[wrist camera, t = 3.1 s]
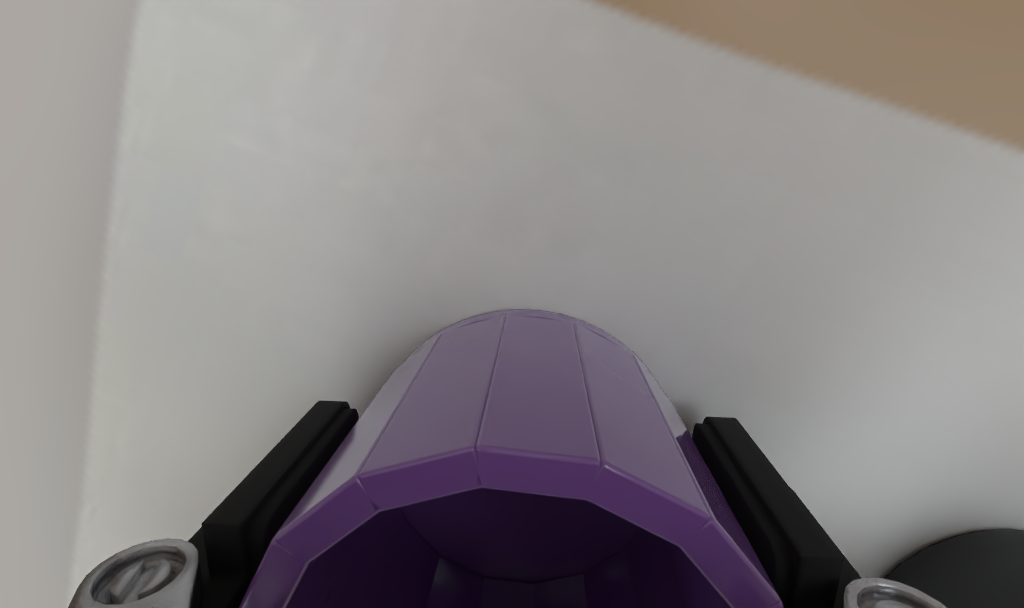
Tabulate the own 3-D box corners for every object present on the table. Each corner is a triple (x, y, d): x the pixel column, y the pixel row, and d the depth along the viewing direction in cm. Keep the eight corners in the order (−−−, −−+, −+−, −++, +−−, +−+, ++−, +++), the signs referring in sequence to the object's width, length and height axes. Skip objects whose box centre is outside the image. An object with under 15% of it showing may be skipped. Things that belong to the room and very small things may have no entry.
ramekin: (635, 270, 10) (735, 381, 5) (704, 545, 12) (838, 858, 7) (331, 355, 11) (136, 530, 6) (431, 602, 13) (350, 925, 7)
